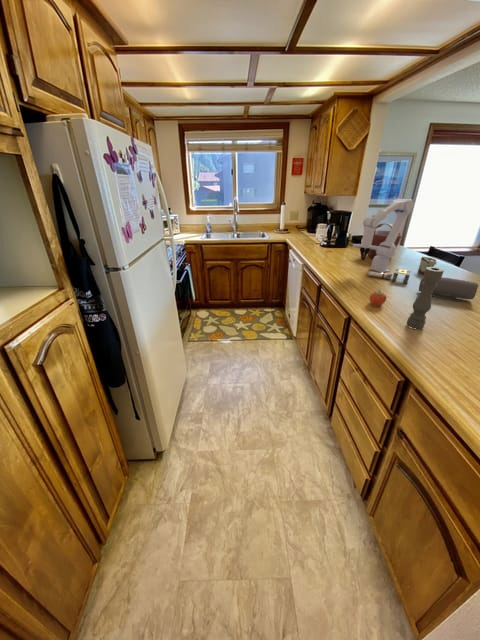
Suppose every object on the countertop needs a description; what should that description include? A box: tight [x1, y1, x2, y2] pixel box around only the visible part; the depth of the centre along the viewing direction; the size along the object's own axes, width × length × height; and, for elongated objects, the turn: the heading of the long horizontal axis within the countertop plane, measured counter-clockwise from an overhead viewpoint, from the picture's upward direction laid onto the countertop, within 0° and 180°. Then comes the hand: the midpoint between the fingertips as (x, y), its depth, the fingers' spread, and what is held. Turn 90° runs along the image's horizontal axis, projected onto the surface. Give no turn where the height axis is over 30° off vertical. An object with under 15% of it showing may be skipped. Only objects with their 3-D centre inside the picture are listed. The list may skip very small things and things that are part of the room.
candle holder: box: [406, 266, 445, 330], centre depth 105 cm, size 6×6×25 cm
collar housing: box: [391, 268, 412, 285], centre depth 157 cm, size 8×9×6 cm
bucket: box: [367, 222, 403, 260], centre depth 198 cm, size 24×22×25 cm
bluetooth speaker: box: [418, 276, 479, 300], centre depth 135 cm, size 23×9×10 cm, turn 59°
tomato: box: [369, 289, 387, 307], centre depth 128 cm, size 7×7×8 cm
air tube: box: [367, 270, 393, 280], centre depth 164 cm, size 13×3×3 cm, turn 57°
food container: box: [417, 256, 437, 277], centre depth 166 cm, size 12×6×10 cm, turn 168°
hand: (362, 260), depth 165 cm, fingers closed
